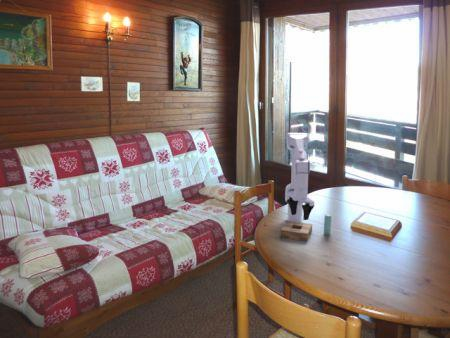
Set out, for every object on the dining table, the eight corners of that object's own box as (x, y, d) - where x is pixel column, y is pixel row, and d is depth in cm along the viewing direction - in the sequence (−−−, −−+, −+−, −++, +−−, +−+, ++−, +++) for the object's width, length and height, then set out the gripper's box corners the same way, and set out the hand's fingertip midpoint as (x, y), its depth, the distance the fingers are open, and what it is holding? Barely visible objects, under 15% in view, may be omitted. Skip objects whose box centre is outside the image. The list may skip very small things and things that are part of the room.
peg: (324, 232, 181) (325, 214, 179) (330, 233, 180) (331, 215, 177) (323, 235, 178) (324, 216, 176) (330, 235, 177) (331, 217, 175)
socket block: (286, 227, 187) (286, 220, 186) (312, 231, 182) (312, 224, 181) (280, 237, 176) (280, 230, 175) (307, 241, 171) (307, 233, 171)
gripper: (282, 185, 173) (281, 214, 177) (306, 193, 162) (305, 224, 165) (294, 182, 177) (293, 211, 180) (318, 190, 165) (316, 220, 169)
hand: (299, 217), depth 173 cm, fingers open, 7 cm apart
